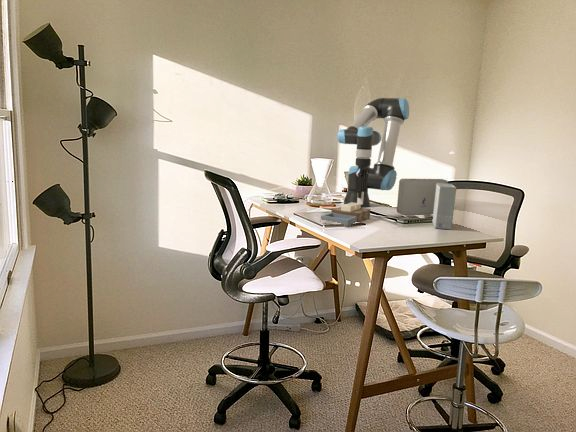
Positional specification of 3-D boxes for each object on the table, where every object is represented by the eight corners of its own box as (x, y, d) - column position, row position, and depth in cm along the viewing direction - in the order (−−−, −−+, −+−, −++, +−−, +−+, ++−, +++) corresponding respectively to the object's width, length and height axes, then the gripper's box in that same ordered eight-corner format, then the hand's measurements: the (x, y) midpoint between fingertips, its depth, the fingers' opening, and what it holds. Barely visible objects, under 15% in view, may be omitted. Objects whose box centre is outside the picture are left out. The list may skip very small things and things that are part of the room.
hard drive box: (451, 230, 216) (456, 187, 212) (434, 228, 218) (439, 186, 214) (447, 223, 231) (452, 183, 227) (431, 222, 233) (435, 182, 229)
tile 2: (351, 207, 236) (351, 202, 236) (360, 208, 234) (360, 203, 233) (346, 208, 232) (347, 203, 232) (356, 209, 229) (356, 204, 229)
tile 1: (345, 208, 231) (345, 203, 230) (354, 210, 228) (355, 205, 228) (341, 210, 227) (341, 205, 226) (350, 211, 224) (350, 206, 224)
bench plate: (344, 215, 241) (345, 205, 240) (369, 219, 234) (370, 209, 233) (330, 219, 229) (331, 209, 228) (356, 223, 221) (357, 213, 220)
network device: (401, 219, 237) (405, 180, 233) (393, 215, 245) (397, 177, 241) (446, 218, 243) (450, 180, 239) (437, 215, 251) (441, 178, 247)
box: (330, 219, 229) (330, 212, 228) (356, 223, 221) (357, 216, 220) (320, 222, 220) (320, 215, 220) (347, 227, 213) (347, 219, 212)
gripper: (361, 156, 241) (358, 201, 246) (351, 157, 230) (347, 204, 235) (375, 157, 237) (371, 203, 242) (365, 159, 226) (361, 206, 231)
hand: (360, 204), depth 238 cm, fingers closed
